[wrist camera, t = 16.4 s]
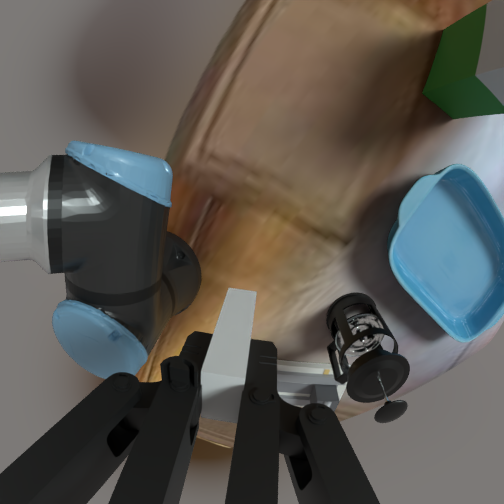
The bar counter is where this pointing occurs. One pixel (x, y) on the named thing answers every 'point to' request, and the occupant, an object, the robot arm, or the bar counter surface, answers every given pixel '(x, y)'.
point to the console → (303, 380)
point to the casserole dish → (451, 251)
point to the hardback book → (470, 65)
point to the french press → (366, 356)
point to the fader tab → (325, 395)
